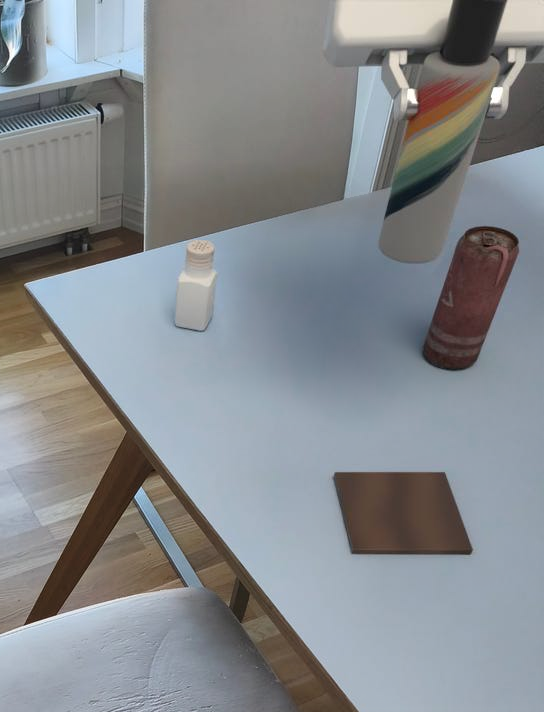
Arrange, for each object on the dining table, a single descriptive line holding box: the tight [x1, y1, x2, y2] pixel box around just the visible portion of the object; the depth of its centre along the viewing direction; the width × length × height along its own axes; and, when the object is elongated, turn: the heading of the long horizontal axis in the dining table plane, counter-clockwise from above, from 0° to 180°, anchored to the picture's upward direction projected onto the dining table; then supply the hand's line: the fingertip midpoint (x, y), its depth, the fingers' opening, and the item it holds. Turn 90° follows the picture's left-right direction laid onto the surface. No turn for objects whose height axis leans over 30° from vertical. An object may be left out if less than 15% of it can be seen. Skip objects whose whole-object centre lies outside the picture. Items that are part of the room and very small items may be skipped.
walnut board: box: [333, 471, 474, 555], centre depth 85 cm, size 11×11×1 cm
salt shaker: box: [174, 239, 218, 332], centre depth 104 cm, size 4×4×10 cm
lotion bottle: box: [378, 0, 507, 265], centre depth 72 cm, size 6×6×20 cm
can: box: [422, 225, 520, 371], centre depth 96 cm, size 6×6×14 cm
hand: (450, 116), depth 71 cm, fingers closed on lotion bottle, 5 cm apart
